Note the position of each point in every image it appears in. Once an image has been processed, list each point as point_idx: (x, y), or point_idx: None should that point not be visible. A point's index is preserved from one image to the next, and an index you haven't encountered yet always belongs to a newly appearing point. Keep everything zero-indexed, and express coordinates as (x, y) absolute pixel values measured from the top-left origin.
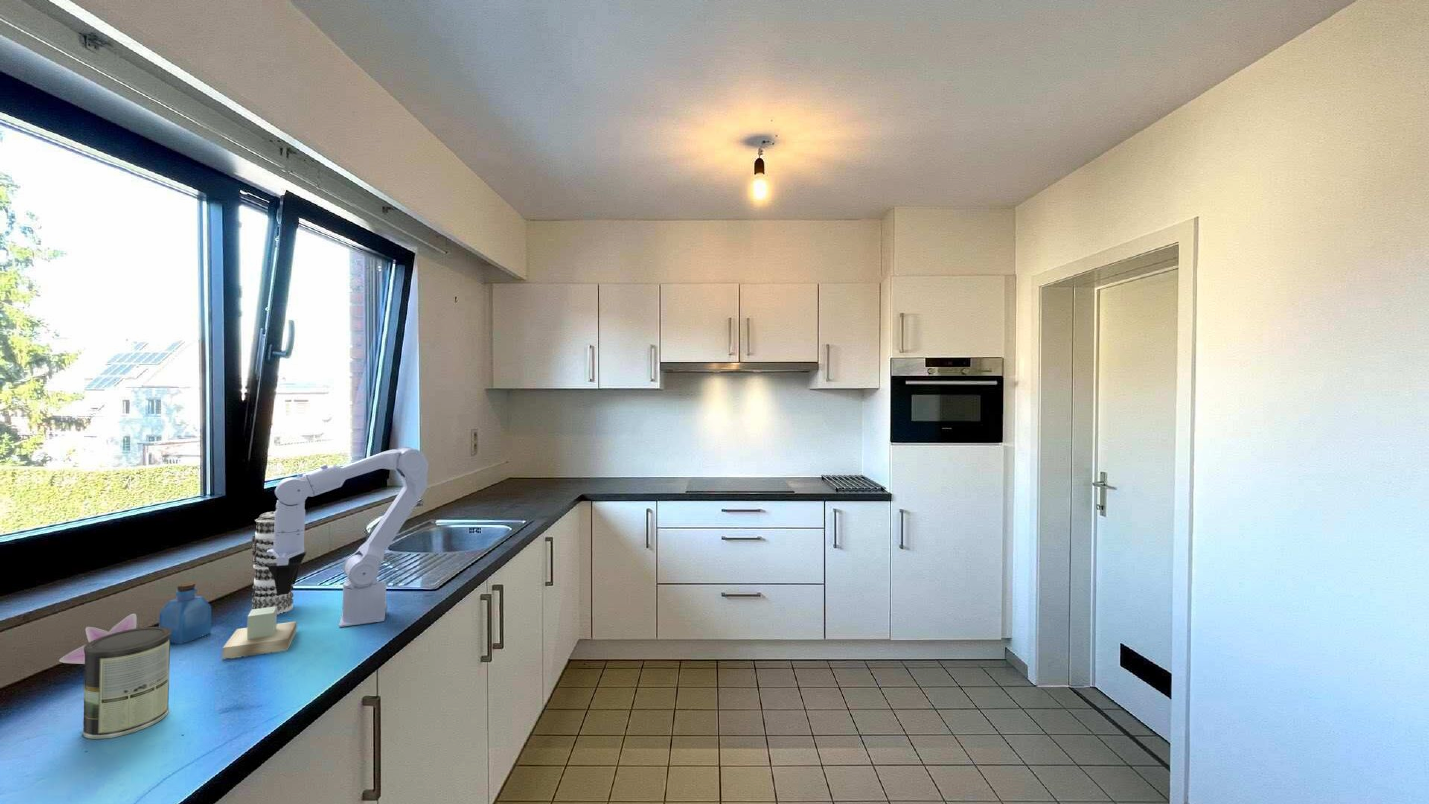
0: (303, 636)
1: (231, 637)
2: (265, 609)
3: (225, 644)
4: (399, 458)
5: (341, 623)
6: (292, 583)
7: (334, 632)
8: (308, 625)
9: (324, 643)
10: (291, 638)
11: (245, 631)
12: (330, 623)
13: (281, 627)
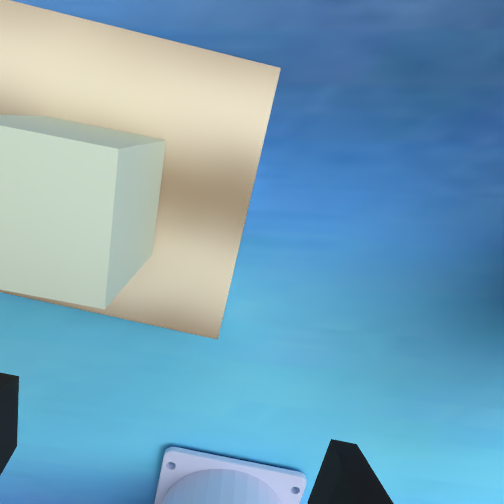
0: (142, 329)
1: (129, 36)
2: (60, 239)
3: (12, 3)
4: None
5: (184, 461)
6: (312, 499)
7: (124, 423)
8: (281, 360)
9: None
10: None
11: (198, 111)
12: (250, 427)
13: (157, 274)
